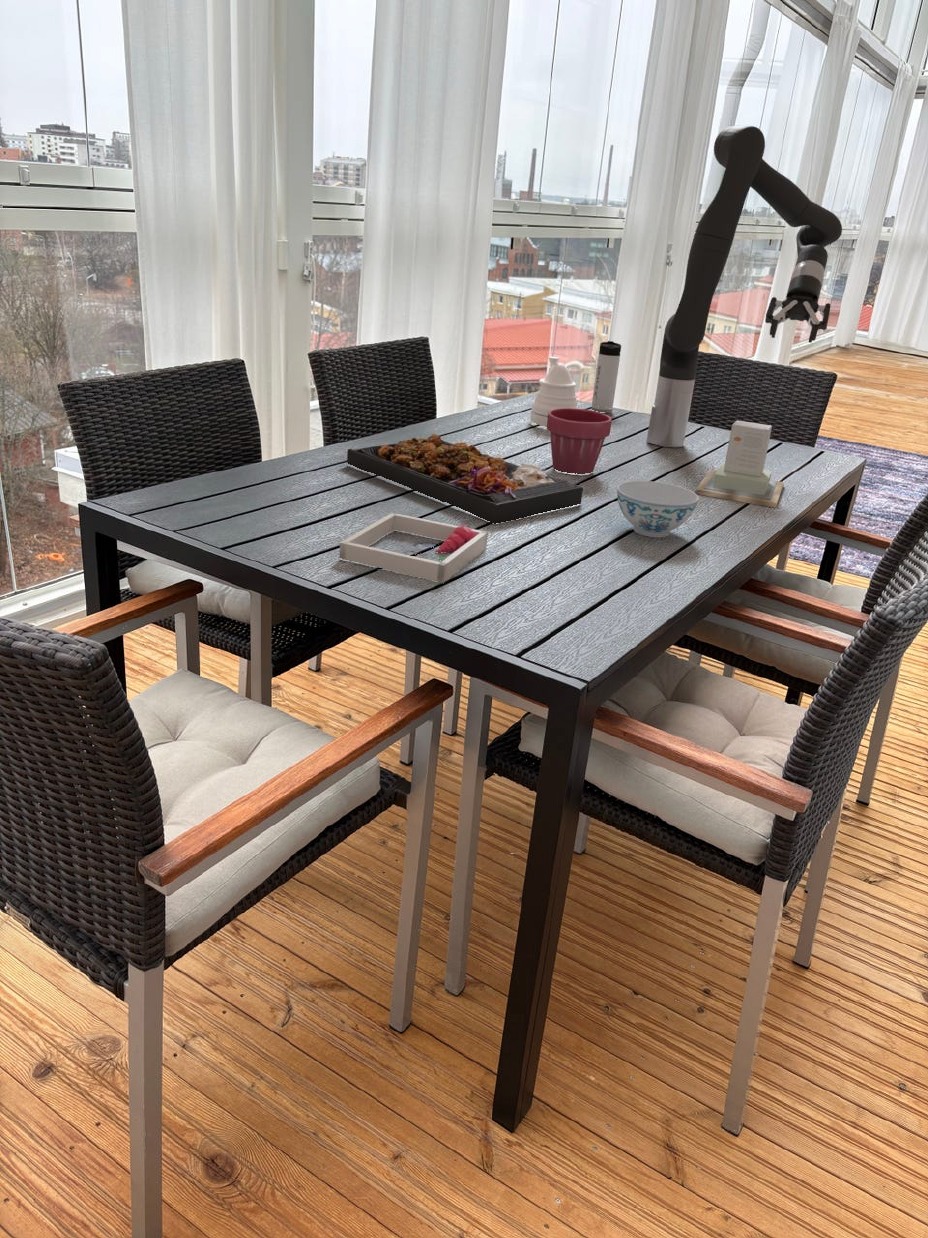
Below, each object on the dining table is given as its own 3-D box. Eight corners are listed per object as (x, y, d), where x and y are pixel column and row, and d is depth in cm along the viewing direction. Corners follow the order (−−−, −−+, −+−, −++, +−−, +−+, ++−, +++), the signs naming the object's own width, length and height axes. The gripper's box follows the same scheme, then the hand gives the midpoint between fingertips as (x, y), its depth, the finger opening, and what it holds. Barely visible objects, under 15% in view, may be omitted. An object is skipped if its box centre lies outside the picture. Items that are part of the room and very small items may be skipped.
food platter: (580, 508, 191) (587, 458, 187) (494, 528, 175) (499, 473, 171) (432, 456, 220) (435, 411, 216) (346, 469, 204) (348, 421, 200)
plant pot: (574, 482, 207) (581, 423, 202) (528, 466, 216) (535, 410, 211) (616, 474, 216) (625, 418, 211) (571, 460, 225) (578, 405, 220)
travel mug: (611, 410, 286) (621, 341, 278) (612, 414, 280) (622, 344, 272) (590, 408, 287) (599, 339, 279) (591, 412, 281) (600, 342, 273)
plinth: (712, 487, 209) (715, 474, 207) (720, 475, 219) (722, 462, 218) (763, 496, 205) (766, 482, 204) (769, 483, 215) (771, 470, 214)
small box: (763, 472, 213) (773, 425, 208) (759, 477, 208) (769, 429, 204) (727, 465, 215) (736, 419, 211) (722, 470, 211) (732, 423, 206)
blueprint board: (695, 493, 206) (696, 488, 206) (708, 473, 224) (709, 468, 223) (775, 507, 201) (776, 502, 201) (783, 486, 218) (784, 481, 218)
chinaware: (674, 551, 170) (682, 509, 166) (598, 531, 176) (604, 491, 173) (702, 531, 181) (709, 492, 178) (629, 514, 188) (635, 476, 185)
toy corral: (339, 560, 152) (339, 542, 150) (391, 528, 168) (392, 512, 167) (442, 583, 146) (444, 565, 145) (486, 548, 162) (487, 532, 161)
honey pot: (527, 427, 254) (534, 358, 247) (532, 418, 266) (539, 352, 259) (575, 433, 253) (584, 364, 246) (577, 423, 265) (586, 357, 257)
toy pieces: (432, 537, 166) (434, 513, 164) (485, 554, 161) (487, 529, 159) (388, 554, 157) (390, 528, 155) (442, 572, 151) (444, 546, 150)
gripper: (776, 270, 229) (762, 323, 224) (838, 276, 225) (825, 331, 219) (774, 292, 236) (759, 344, 230) (834, 299, 231) (821, 352, 226)
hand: (791, 337), depth 225 cm, fingers open, 8 cm apart
